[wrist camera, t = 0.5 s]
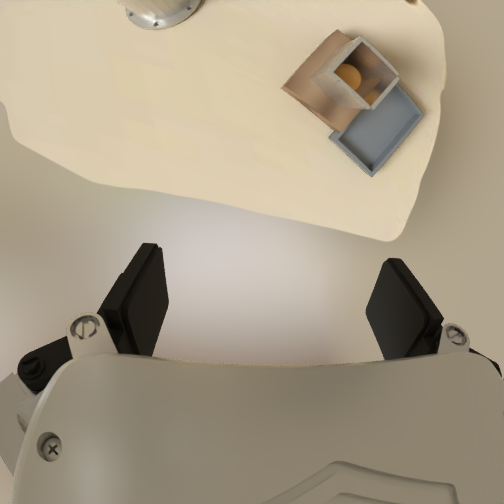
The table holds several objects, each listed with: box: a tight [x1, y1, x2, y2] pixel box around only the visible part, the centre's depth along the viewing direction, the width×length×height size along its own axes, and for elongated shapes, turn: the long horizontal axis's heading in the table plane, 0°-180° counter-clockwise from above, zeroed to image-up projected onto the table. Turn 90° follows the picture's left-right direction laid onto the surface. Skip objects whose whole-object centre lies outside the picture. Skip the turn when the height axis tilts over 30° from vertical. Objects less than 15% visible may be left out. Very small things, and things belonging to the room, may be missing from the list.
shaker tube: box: [309, 36, 400, 110], centre depth 25 cm, size 6×6×9 cm
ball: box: [334, 64, 361, 90], centre depth 28 cm, size 4×4×4 cm
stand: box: [281, 29, 384, 132], centre depth 32 cm, size 10×12×5 cm
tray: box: [329, 83, 424, 177], centre depth 36 cm, size 9×15×2 cm, turn 143°
